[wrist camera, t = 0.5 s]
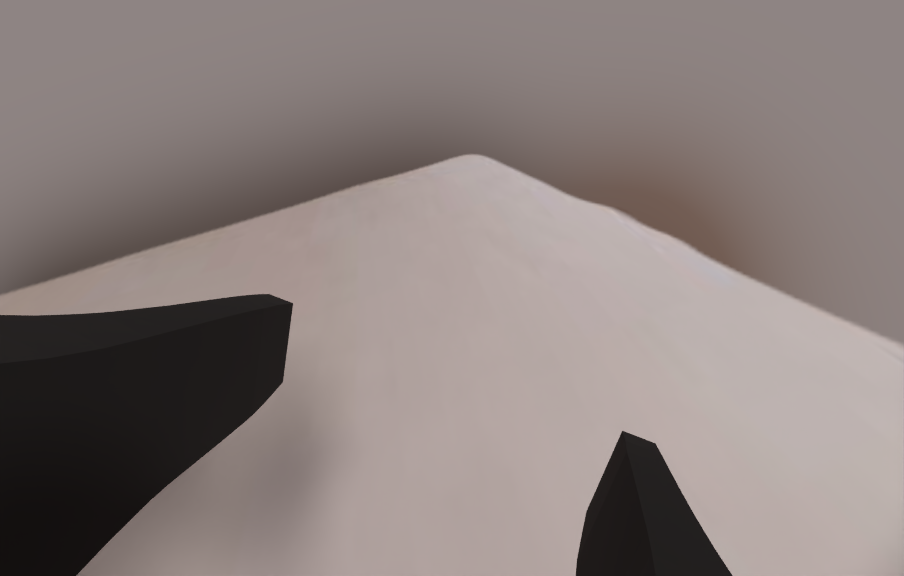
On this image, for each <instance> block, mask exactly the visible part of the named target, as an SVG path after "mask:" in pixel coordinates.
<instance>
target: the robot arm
mask: <svg viewBox="0 0 904 576" xmlns="http://www.w3.org/2000/svg"><path fill="white" fill-rule="evenodd" d="M292 307H293V303H291V302H288V301H285V300H283V299H280V298H278V297H275V296H272V295H270V294H258V295H246V296H237V297H229V298H221V299H214V300H206V301H199V302H192V303H185V304H177V305H170V306H161V307H152V308H143V309H134V310H125V311H115V312H104V313H89V314H70V315H41V316H21V315H0V576H76V575H77V574H78V573H79V572H80V571H81V570H82V569H83V568H84V567H85V566H86V565H87V564H88V563H89V561H90V560H91V559H92V558H93V557H94V556H95V555H96V554H97V553H98V552H99V551H100V550H101V549H102V548H103V547H104V546H105V545H106V544H107V543H108V542H109V541H110V540H111V539H112V538H113V537H114V536H115V535H116V534H117V533H118V532H119V531H120V530H121V529H122V528H123V527H124V526H125V525H126V524H127V523H128V522H129V521H130V520H131V519H132V518H133V517H134V516H135V515H136V514H137V513H138V512H139V511H140V510H141V509H142V508H143V507H144V506H145V505H146V504H147V503H148V502H149V501H150V500H151V499H152V498H153V497H155V496H156V495H157V494H158V493H159V492H160V491H161V490H163V489H164V488H165V487H166V486H167V485H168V484H169V483H171V482H172V481H173V480H174V479H176V478H177V477H178V476H179V475H180V474H182V473H183V472H184V471H185V470H187V469H188V468H189V467H190V466H192V465H193V464H194V463H195V462H196V461H198V460H199V459H200V458H201V457H203V456H204V455H205V454H206V453H207V452H209V451H210V450H211V449H212V448H214V447H215V446H216V445H217V444H219V443H220V442H221V441H222V440H223V439H225V438H226V437H227V436H228V435H229V434H231V433H232V432H233V431H234V430H236V429H237V428H238V427H239V426H240V425H242V424H243V423H244V422H245V421H246V420H247V419H249V418H250V417H251V416H252V415H253V414H254V413H255V412H256V411H257V410H258V409H259V408H260V407H261V406H262V405H263V404H264V403H265V402H266V401H267V399H268V398H269V397H270V396H271V395H272V394H273V393H274V391H275V390H276V389H277V388H278V387H279V386H280V385H281V384H282V382H283V376H284V368H285V361H286V353H287V345H288V338H289V330H290V322H291V314H292ZM576 576H732V574H731V573H730V571H729V570H728V568H727V567H726V565H725V564H724V562H723V561H722V559H721V558H720V556H719V555H718V553H717V552H716V550H715V548H714V547H713V545H712V544H711V542H710V540H709V539H708V537H707V535H706V534H705V532H704V531H703V529H702V527H701V526H700V524H699V522H698V520H697V519H696V517H695V515H694V514H693V512H692V510H691V508H690V507H689V505H688V503H687V501H686V499H685V498H684V496H683V494H682V492H681V490H680V489H679V487H678V485H677V483H676V481H675V479H674V477H673V476H672V474H671V472H670V470H669V468H668V466H667V464H666V462H665V460H664V459H663V457H662V455H661V453H660V451H659V449H658V448H657V446H656V444H655V443H653V442H650V441H647V440H645V439H642V438H640V437H637V436H634V435H632V434H629V433H627V432H624V431H622V433H621V435H620V438H619V440H618V442H617V444H616V447H615V449H614V451H613V453H612V456H611V458H610V460H609V462H608V465H607V467H606V469H605V471H604V474H603V476H602V478H601V480H600V483H599V485H598V487H597V489H596V492H595V494H594V496H593V498H592V501H591V503H590V505H589V507H588V510H587V512H586V517H585V522H584V527H583V532H582V537H581V542H580V547H579V553H578V558H577V568H576Z"/></svg>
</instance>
